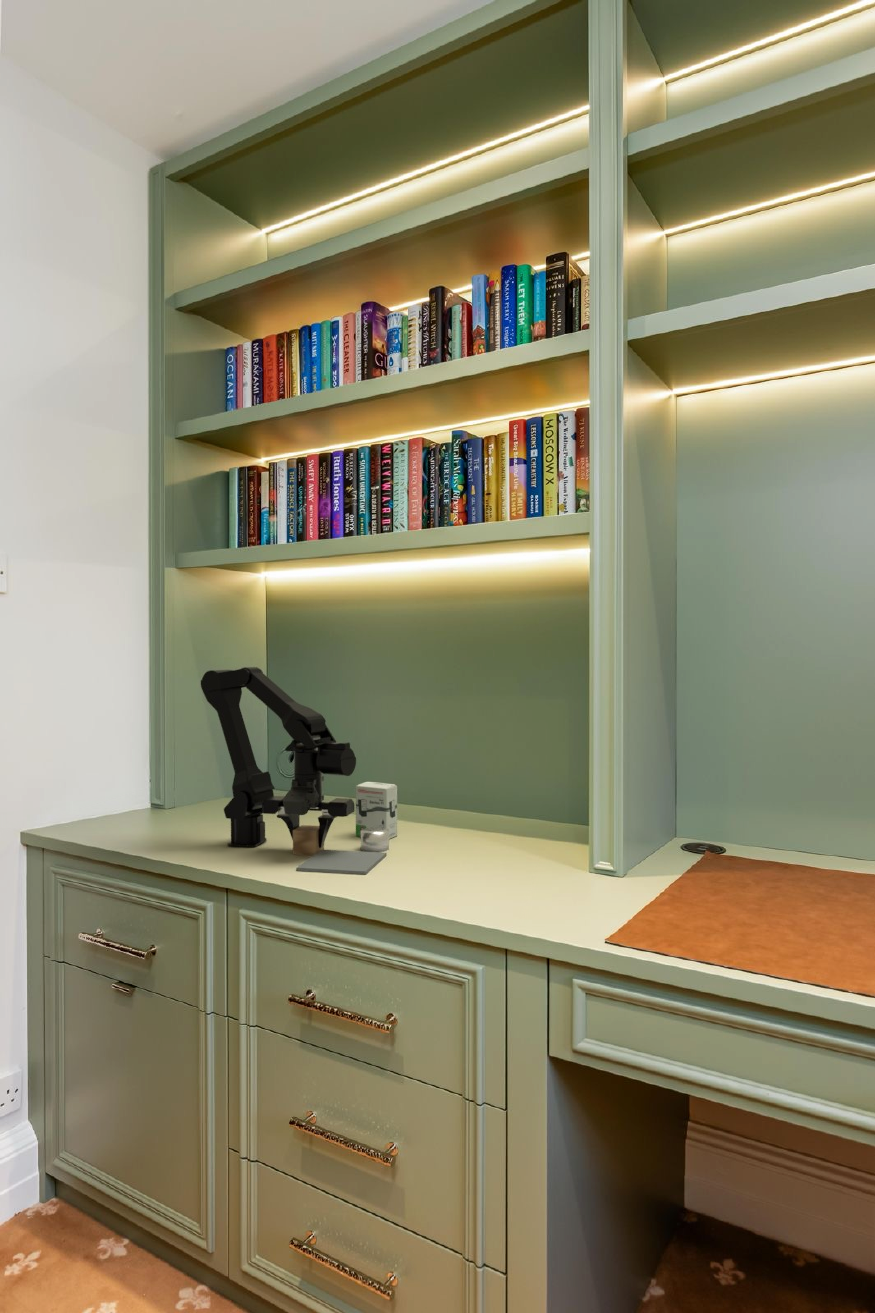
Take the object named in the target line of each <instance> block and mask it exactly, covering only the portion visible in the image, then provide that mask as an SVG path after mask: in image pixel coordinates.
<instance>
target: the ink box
mask: <svg viewBox="0 0 875 1313" xmlns="http://www.w3.org/2000/svg"><path fill="white" fill-rule="evenodd" d="M375 827H378V828H386V829H388V830H389V840H390V839H392V838H395V837H397V836H398V785H396V784H394V783H386V782H375V781H365V782H361V783H359V784H358V785H355V837H358V838H361V830H362V829H366V828H375Z"/></svg>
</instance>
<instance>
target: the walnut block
mask: <svg viewBox="0 0 875 1313" xmlns="http://www.w3.org/2000/svg"><path fill="white" fill-rule="evenodd" d="M321 850H325V843H324V844H323V847H322V848H319V825H304V824H302V825H301V824H300V825H299V827H298V828H296V829H294V830H293V840H292V855H299V856H314V855H315V854H317V853H318V852H320V851H321Z"/></svg>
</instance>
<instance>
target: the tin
mask: <svg viewBox="0 0 875 1313" xmlns="http://www.w3.org/2000/svg"><path fill="white" fill-rule="evenodd" d="M388 850H390V839H389V830H388V829H386V828H378V827H375V828H366V829H362V830H361V837H360V851H361V852H381V853H385V852H387V851H388Z"/></svg>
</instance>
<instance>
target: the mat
mask: <svg viewBox="0 0 875 1313" xmlns="http://www.w3.org/2000/svg"><path fill="white" fill-rule="evenodd" d="M386 857H387V852H364V851H362V850H360V851H357V850H342V849H341V850H340V849H338V850H337V849H336V850H335V849H324V850H321V851H320V852H318V853H317V854H315V855H311V857H310V858H308V859H306V860H304V862H302V863H301V864H299V865H298V866H296V868H295V871H296V872H312V873H314V872H315V873H330V874H331V873H332V874H345V875H367V874H368V873H369V872H370V871H372V869H374V868H375V867H376V866H377V865H378V864H379V863H381V861H383V859H385V858H386Z"/></svg>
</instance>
